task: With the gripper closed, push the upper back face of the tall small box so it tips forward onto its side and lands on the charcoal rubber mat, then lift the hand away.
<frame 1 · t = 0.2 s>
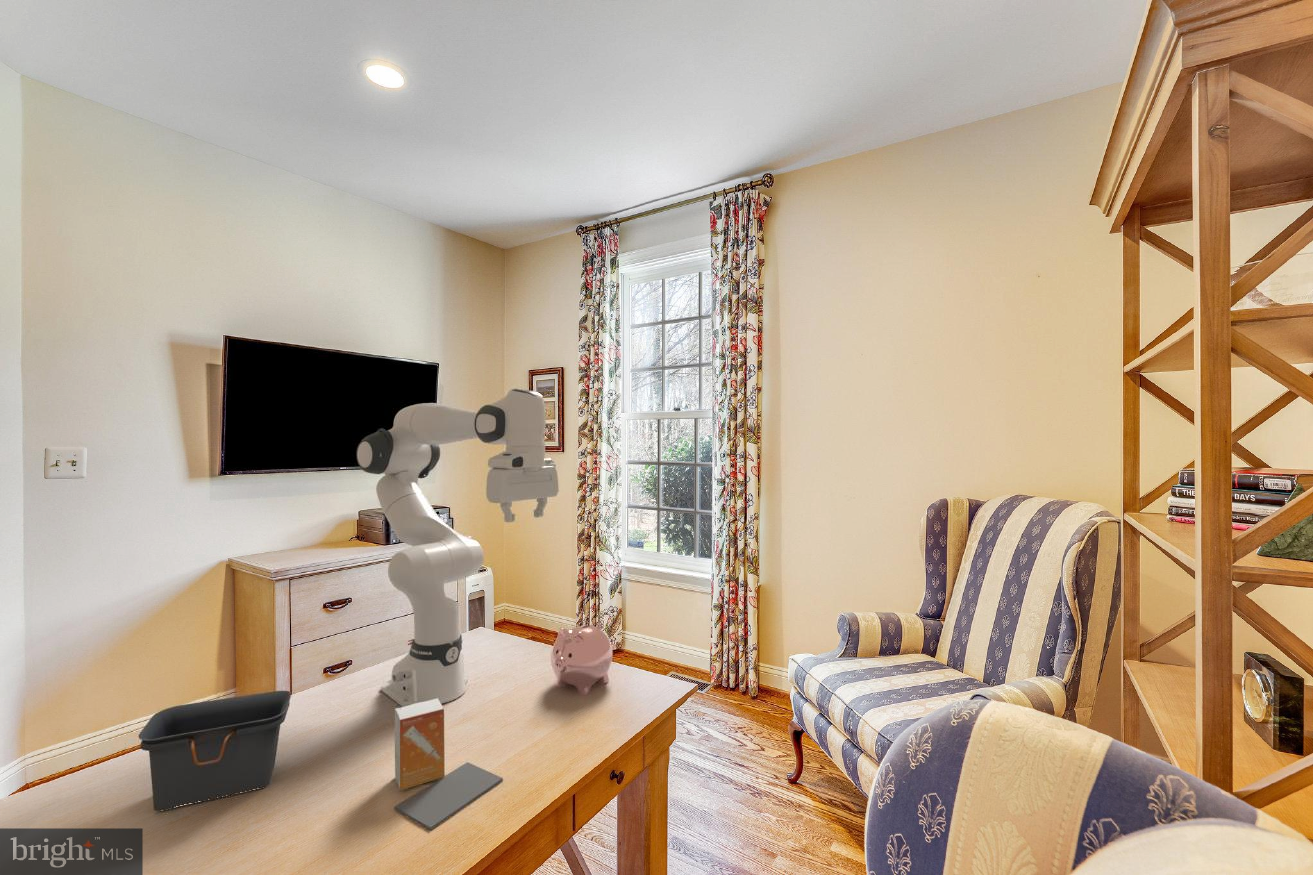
hand: (524, 519, 126), 47 cm above the table, tool pointing down, fingers open, 8 cm apart
piggy bank: (580, 685, 148), on the table
small box: (420, 778, 106), on the table, touching mat
storage bin: (218, 792, 101), on the table
mat: (450, 794, 101), on the table
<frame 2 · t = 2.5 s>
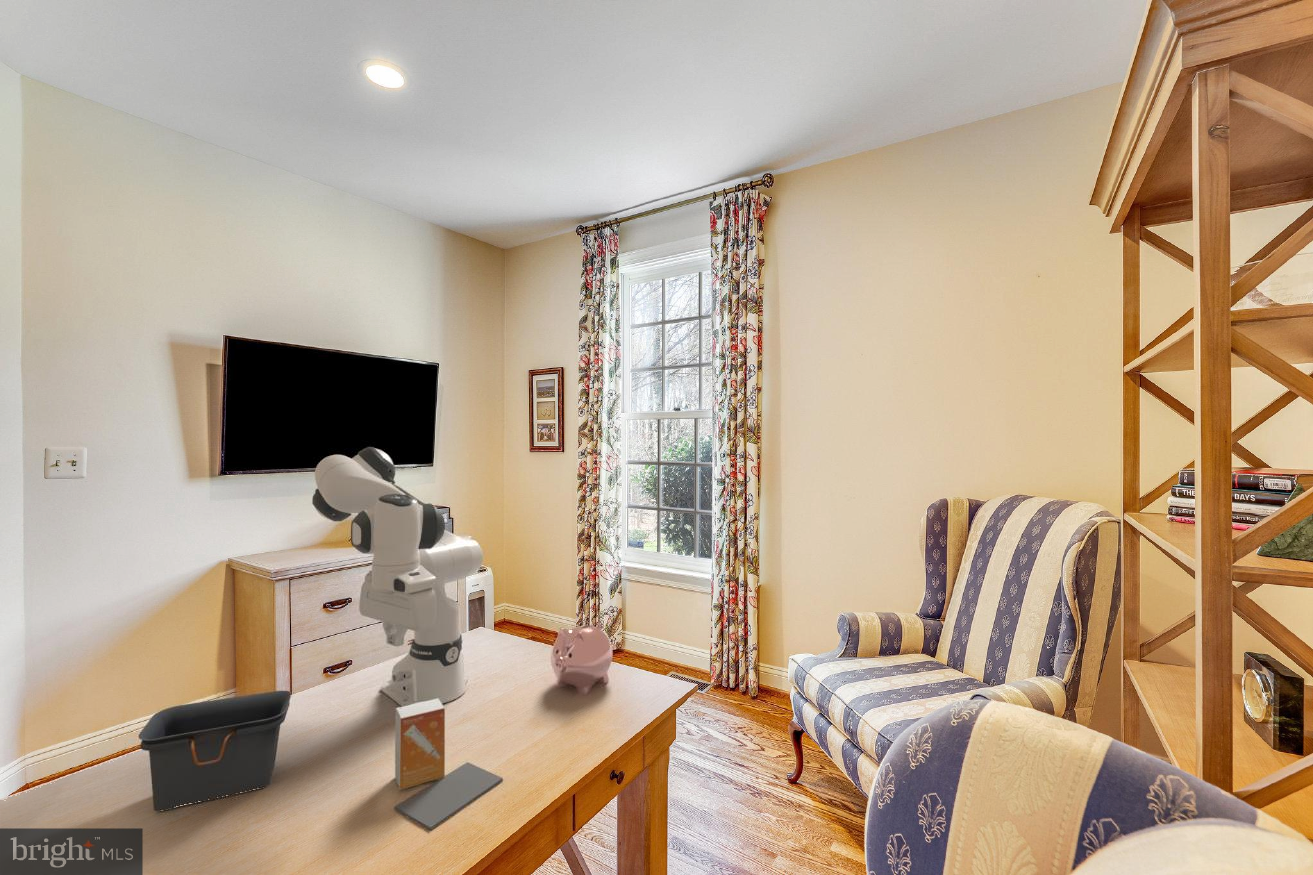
hand: (395, 644, 110), 24 cm above the table, tool pointing down, fingers closed
nothing on the table moved.
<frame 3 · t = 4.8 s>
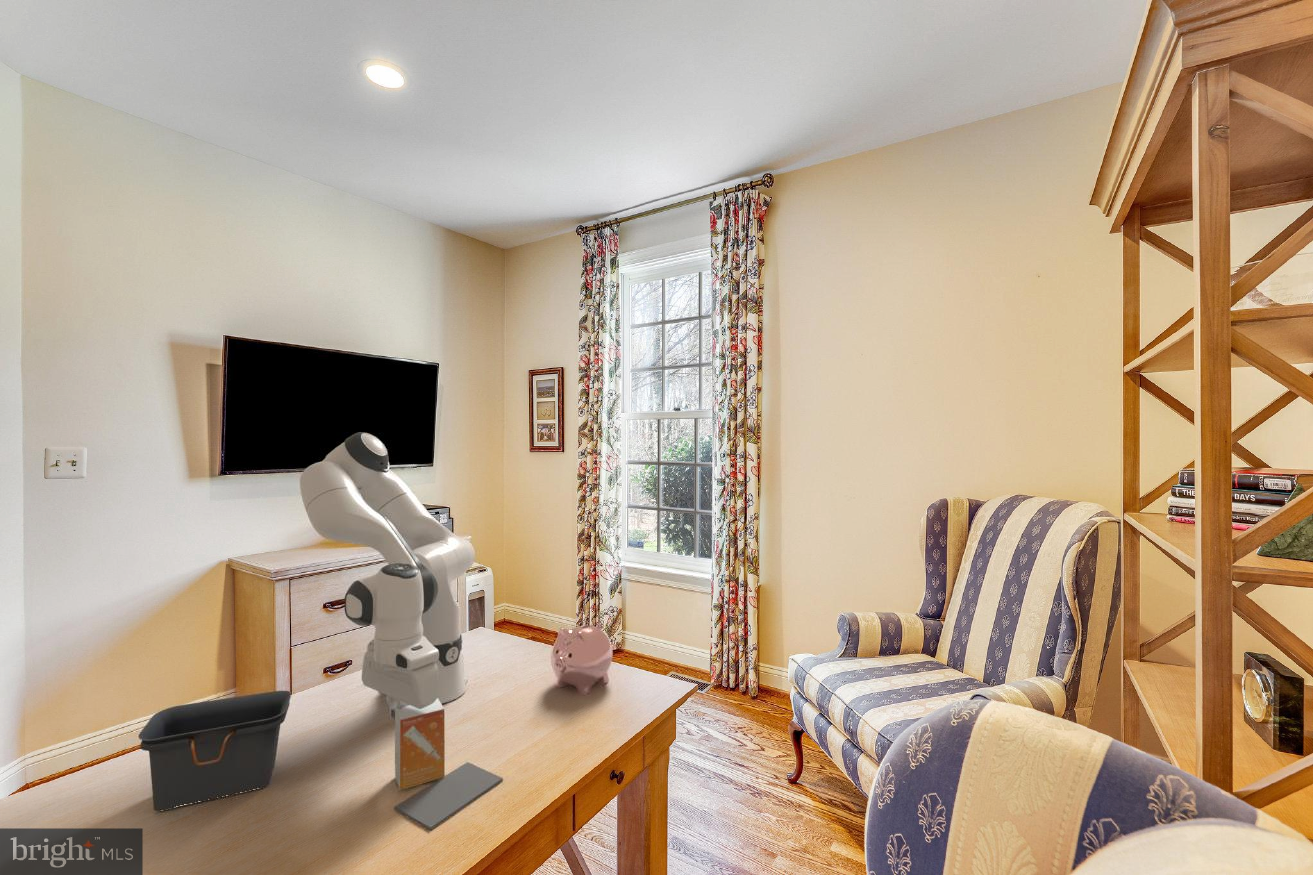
hand: (397, 717, 109), 10 cm above the table, tool pointing down, fingers closed
small box: (420, 778, 106), on the table, touching gripper, mat
everything else where it was.
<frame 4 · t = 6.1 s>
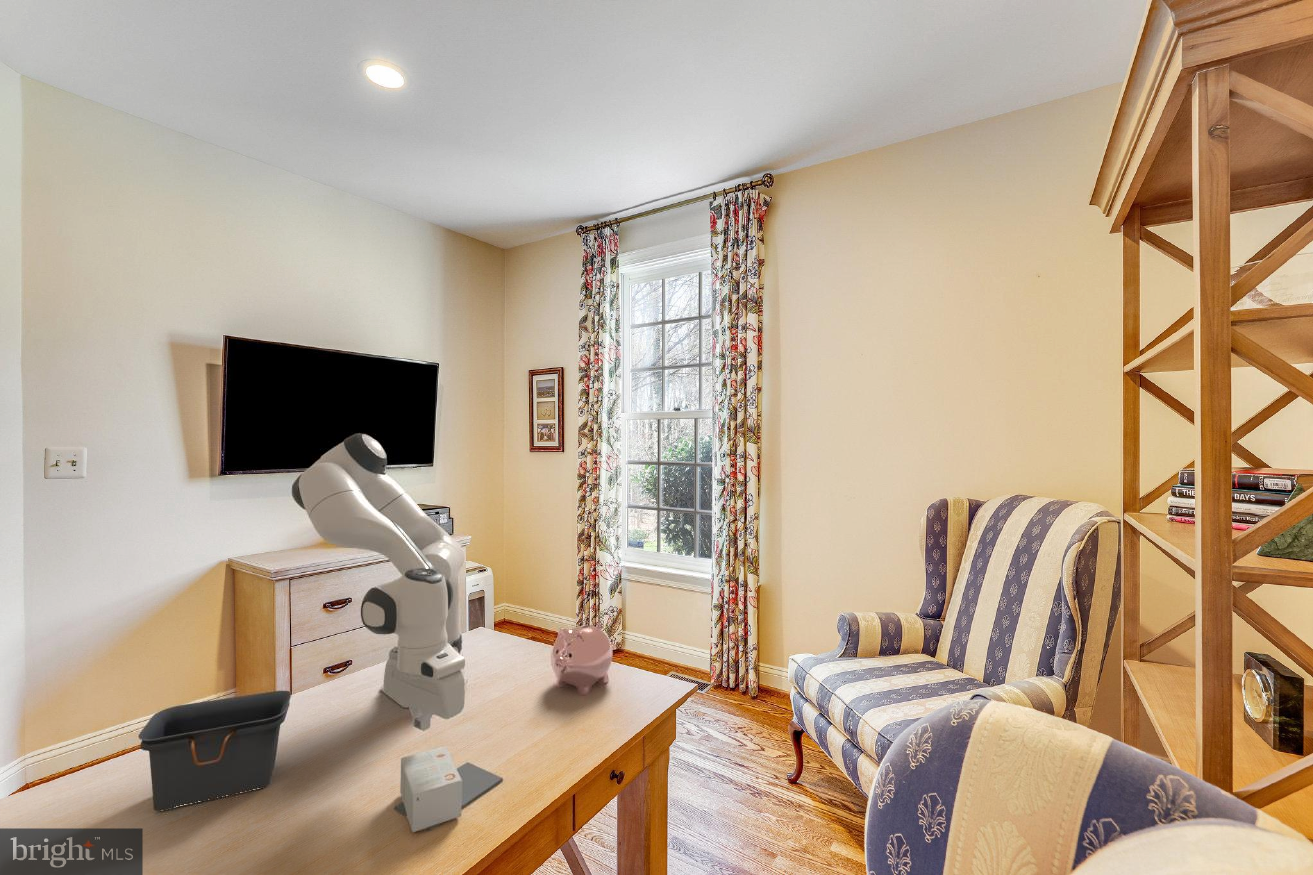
hand: (421, 727, 105), 10 cm above the table, tool pointing down, fingers closed
small box: (423, 767, 103), point 4 cm above the table, touching mat
everything else where it was.
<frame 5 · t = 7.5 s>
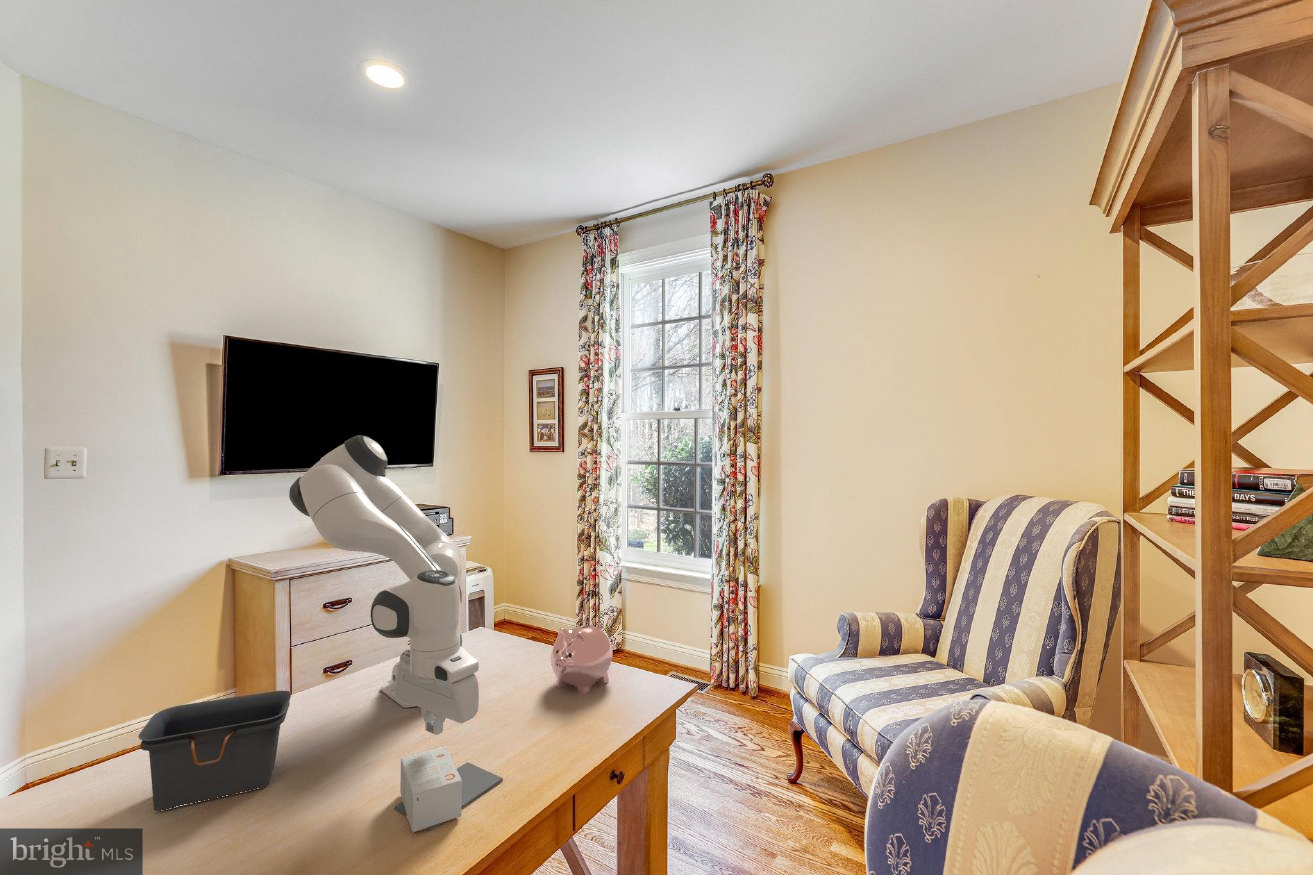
hand: (434, 731, 104), 10 cm above the table, tool pointing down, fingers closed
nothing on the table moved.
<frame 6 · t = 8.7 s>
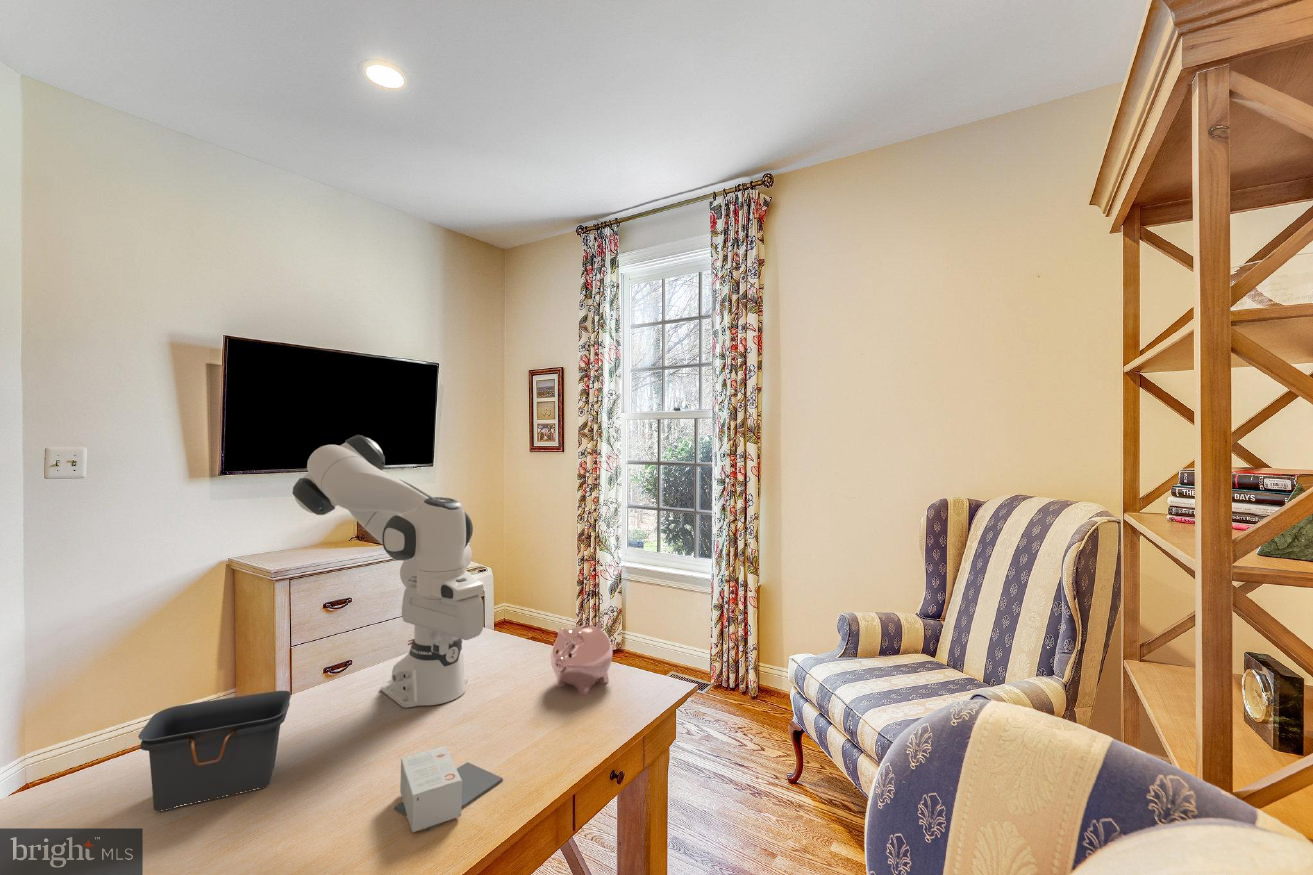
hand: (439, 652, 107), 24 cm above the table, tool pointing down, fingers closed
nothing on the table moved.
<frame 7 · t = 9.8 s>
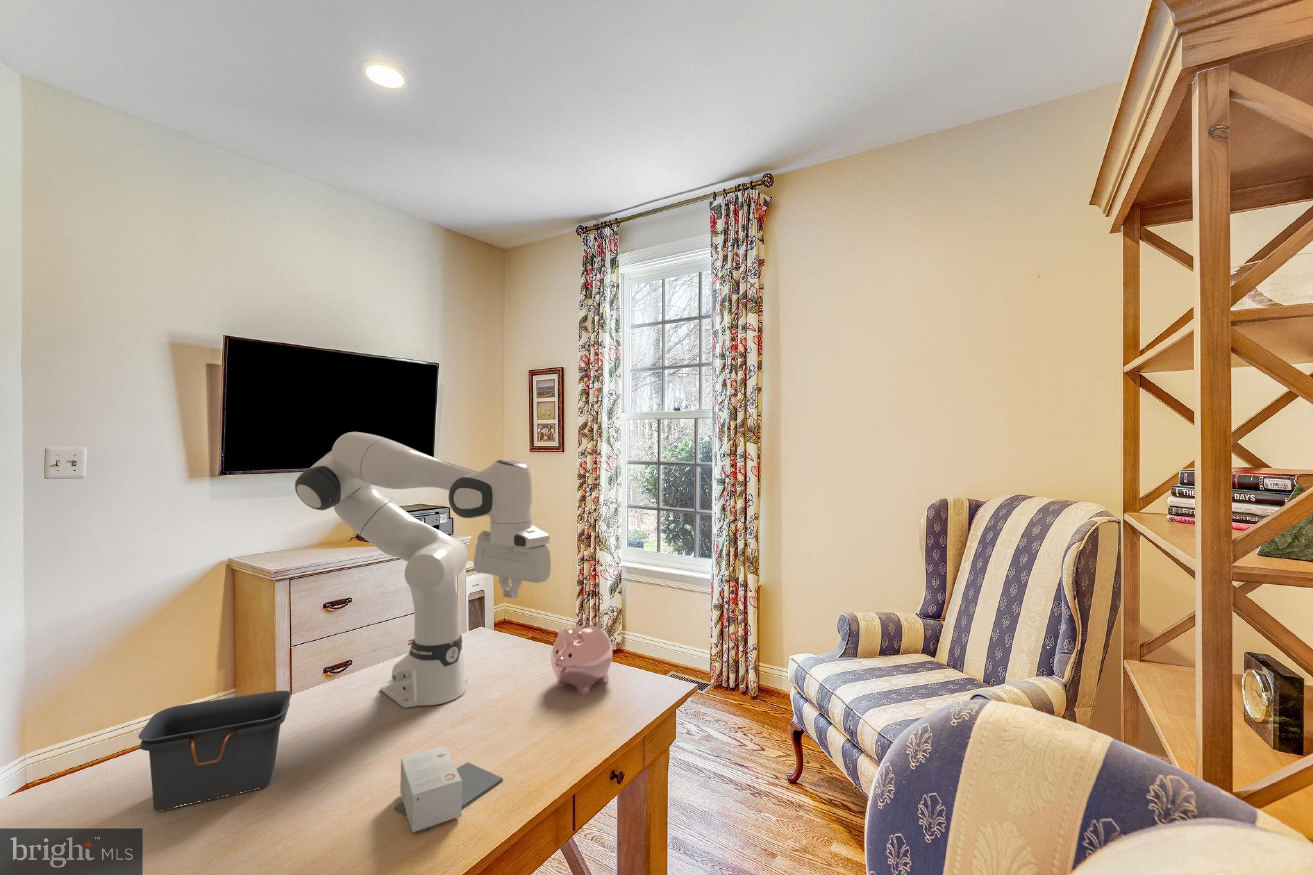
hand: (510, 597, 120), 31 cm above the table, tool pointing down, fingers closed
nothing on the table moved.
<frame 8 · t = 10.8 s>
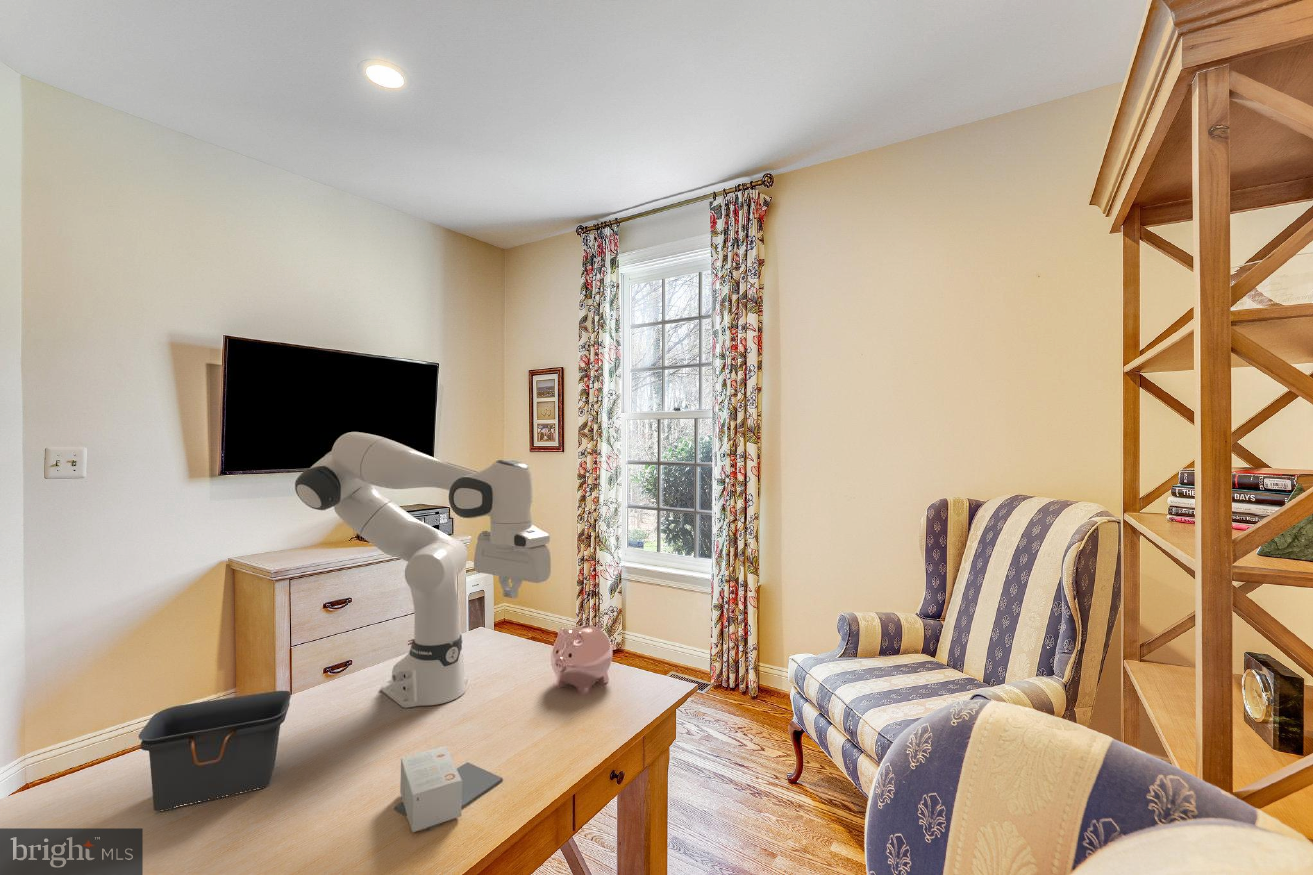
hand: (510, 597, 120), 31 cm above the table, tool pointing down, fingers closed
nothing on the table moved.
at the end: small box tilted 89°; small box inside the target area (1.8 cm from its centre), point 3.5 cm above the table; the gripper is holding nothing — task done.
